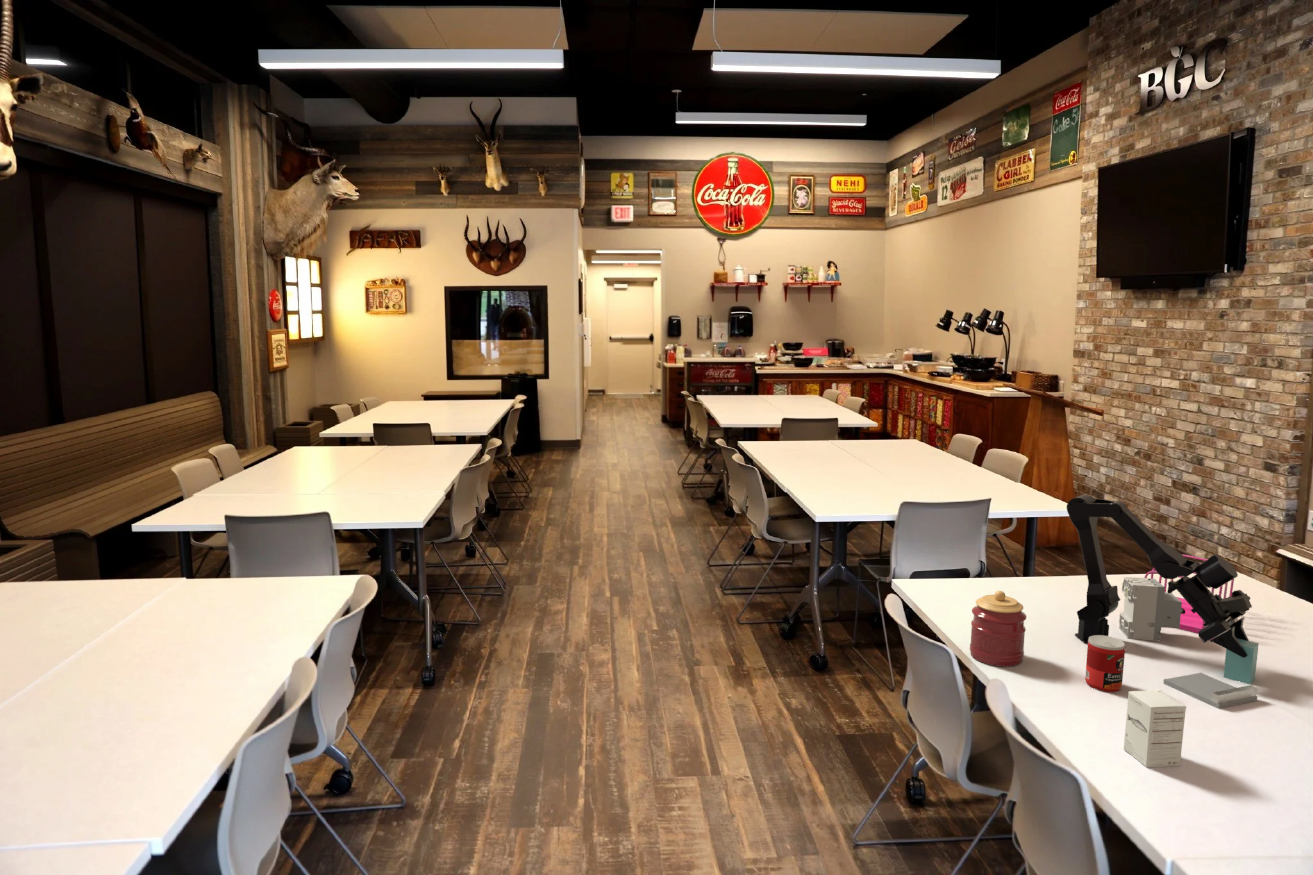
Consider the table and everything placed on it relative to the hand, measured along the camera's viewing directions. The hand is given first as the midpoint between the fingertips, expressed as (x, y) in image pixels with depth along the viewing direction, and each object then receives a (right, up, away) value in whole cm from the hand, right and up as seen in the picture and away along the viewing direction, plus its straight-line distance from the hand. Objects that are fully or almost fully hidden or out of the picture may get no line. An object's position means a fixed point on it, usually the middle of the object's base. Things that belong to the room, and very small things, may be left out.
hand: (1248, 653), depth 207 cm
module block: (-1, -6, +2) cm, 7 cm away
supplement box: (-44, -12, -36) cm, 58 cm away
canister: (-55, -5, +14) cm, 57 cm away
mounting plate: (-13, -7, -6) cm, 16 cm away
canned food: (-36, -7, -2) cm, 37 cm away
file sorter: (+12, -1, +45) cm, 46 cm away
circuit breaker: (-6, -3, +30) cm, 31 cm away
